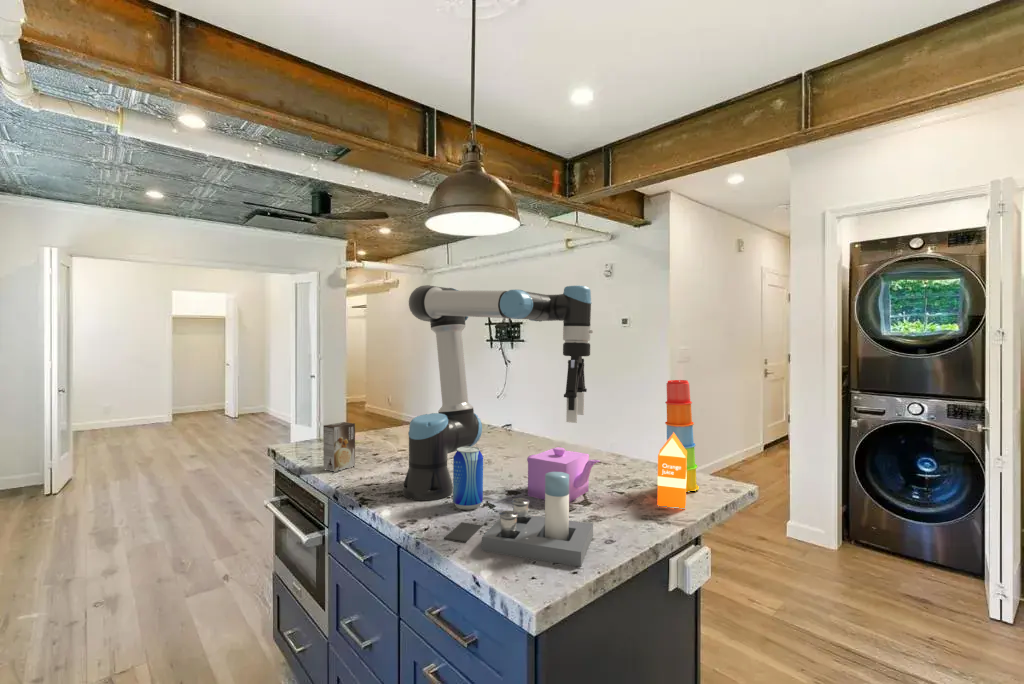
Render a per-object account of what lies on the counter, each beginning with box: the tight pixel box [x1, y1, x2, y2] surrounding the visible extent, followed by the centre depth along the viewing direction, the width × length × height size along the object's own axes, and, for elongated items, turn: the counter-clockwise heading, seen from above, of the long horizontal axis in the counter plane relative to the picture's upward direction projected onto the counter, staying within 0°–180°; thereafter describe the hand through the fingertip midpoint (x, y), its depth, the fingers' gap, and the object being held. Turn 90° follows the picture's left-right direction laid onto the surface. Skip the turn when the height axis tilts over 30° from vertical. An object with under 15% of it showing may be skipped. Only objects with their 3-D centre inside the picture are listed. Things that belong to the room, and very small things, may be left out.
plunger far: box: [511, 497, 530, 522], centre depth 114 cm, size 4×4×4 cm
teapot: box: [526, 446, 601, 503], centre depth 144 cm, size 15×25×14 cm, turn 56°
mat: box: [443, 521, 484, 544], centre depth 114 cm, size 10×10×1 cm
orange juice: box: [656, 432, 687, 509], centre depth 137 cm, size 8×9×20 cm
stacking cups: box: [664, 379, 700, 493], centre depth 151 cm, size 10×10×35 cm
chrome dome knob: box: [498, 510, 518, 537], centre depth 106 cm, size 4×4×4 cm
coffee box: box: [323, 421, 356, 472], centre depth 170 cm, size 9×6×16 cm
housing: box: [481, 514, 594, 568], centre depth 108 cm, size 22×16×4 cm
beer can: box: [452, 446, 484, 510], centre depth 134 cm, size 8×8×16 cm
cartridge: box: [544, 472, 570, 541], centre depth 107 cm, size 5×5×16 cm
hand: (575, 418), depth 131 cm, fingers open, 13 cm apart
